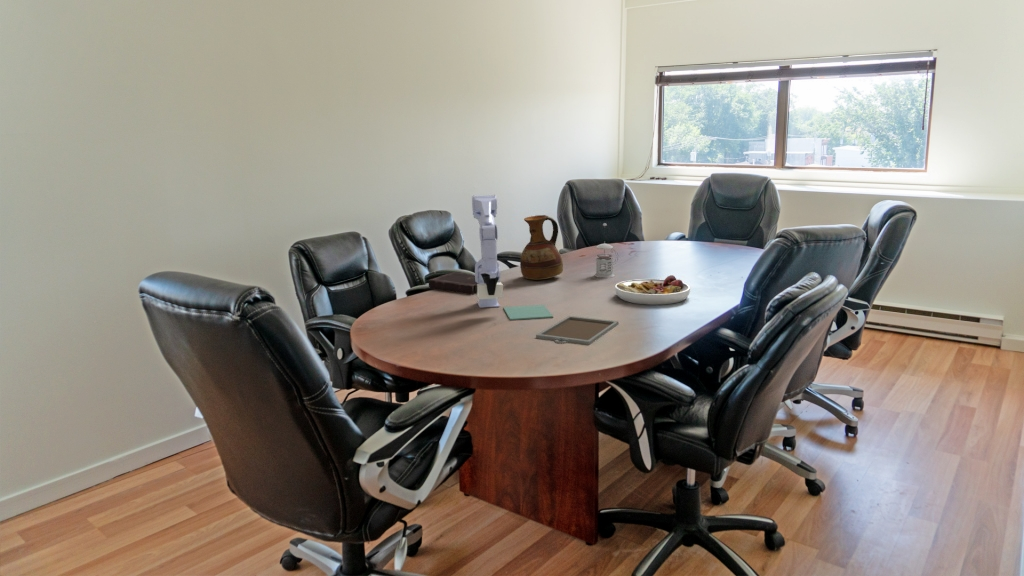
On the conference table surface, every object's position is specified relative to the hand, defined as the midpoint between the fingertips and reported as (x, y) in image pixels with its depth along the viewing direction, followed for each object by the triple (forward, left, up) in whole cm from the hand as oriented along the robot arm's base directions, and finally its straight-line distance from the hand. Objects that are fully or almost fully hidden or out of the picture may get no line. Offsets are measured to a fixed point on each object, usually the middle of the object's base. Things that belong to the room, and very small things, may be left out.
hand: (490, 293), depth 257 cm
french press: (-62, +63, -9) cm, 89 cm away
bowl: (-13, +68, -9) cm, 70 cm away
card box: (0, 0, -1) cm, 1 cm away
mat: (0, +14, -8) cm, 16 cm away
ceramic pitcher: (-63, +32, -9) cm, 71 cm away
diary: (-52, -6, -9) cm, 53 cm away
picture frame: (+29, +26, -9) cm, 40 cm away
